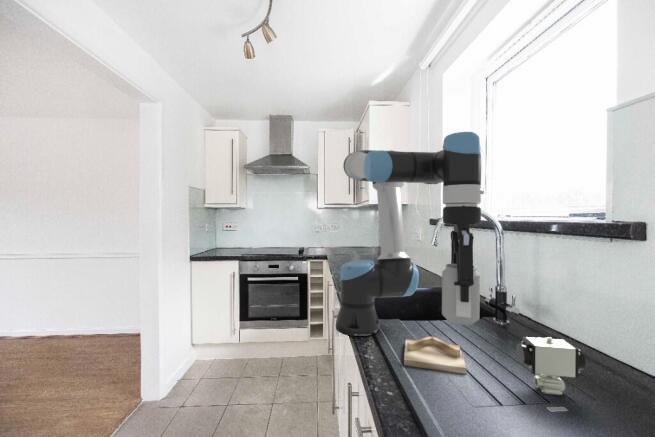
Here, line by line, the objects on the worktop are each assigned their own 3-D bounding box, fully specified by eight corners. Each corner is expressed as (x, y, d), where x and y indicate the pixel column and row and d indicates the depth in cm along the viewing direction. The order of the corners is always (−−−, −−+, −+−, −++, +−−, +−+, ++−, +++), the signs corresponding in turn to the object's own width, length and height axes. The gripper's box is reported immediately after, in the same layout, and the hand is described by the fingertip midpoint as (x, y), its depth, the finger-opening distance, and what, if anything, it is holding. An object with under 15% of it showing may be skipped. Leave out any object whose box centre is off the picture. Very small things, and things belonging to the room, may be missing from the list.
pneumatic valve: (586, 400, 62) (586, 344, 62) (524, 393, 64) (525, 339, 64) (570, 385, 67) (570, 333, 67) (514, 379, 70) (514, 330, 69)
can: (447, 311, 69) (448, 261, 69) (482, 318, 64) (483, 264, 64) (437, 320, 63) (437, 265, 63) (474, 329, 59) (475, 270, 58)
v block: (405, 344, 89) (405, 332, 89) (459, 350, 85) (459, 338, 84) (404, 365, 76) (404, 351, 76) (466, 374, 72) (466, 360, 72)
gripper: (492, 204, 52) (491, 330, 53) (471, 206, 72) (471, 298, 72) (447, 204, 55) (446, 325, 55) (439, 206, 74) (438, 295, 75)
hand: (460, 309), depth 64 cm, fingers closed on can, 7 cm apart
